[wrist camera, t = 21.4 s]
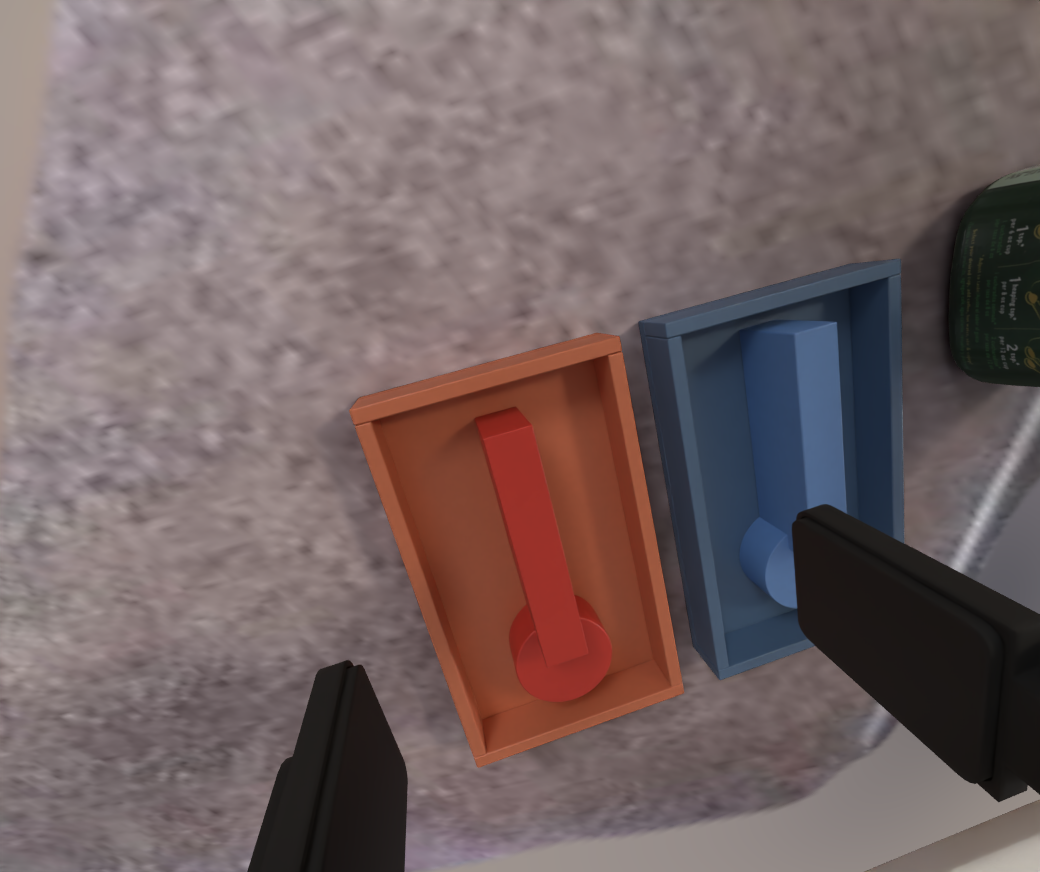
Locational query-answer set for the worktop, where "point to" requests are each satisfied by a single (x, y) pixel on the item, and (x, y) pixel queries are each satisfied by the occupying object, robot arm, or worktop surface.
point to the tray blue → (728, 448)
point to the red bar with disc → (541, 571)
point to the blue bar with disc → (790, 441)
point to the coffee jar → (999, 283)
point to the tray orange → (484, 543)
